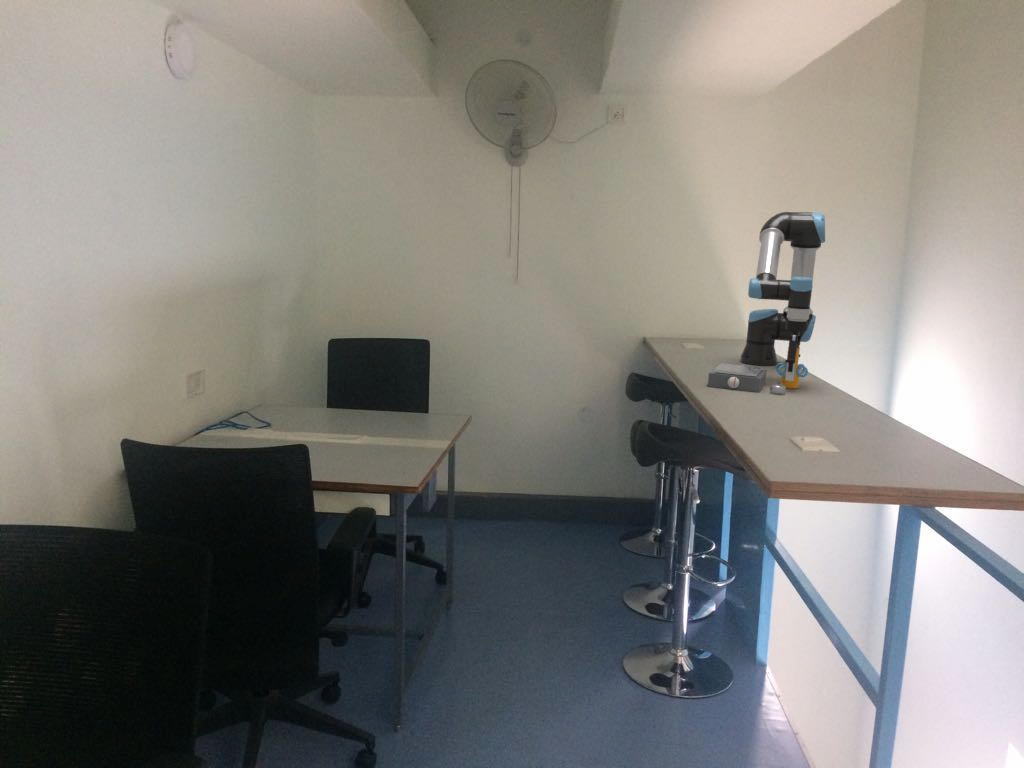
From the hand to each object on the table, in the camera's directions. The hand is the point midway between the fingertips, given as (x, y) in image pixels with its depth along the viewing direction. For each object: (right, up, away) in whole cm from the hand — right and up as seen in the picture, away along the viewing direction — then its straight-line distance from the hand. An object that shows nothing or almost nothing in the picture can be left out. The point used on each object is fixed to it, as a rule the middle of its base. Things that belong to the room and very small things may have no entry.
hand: (790, 377), depth 276 cm
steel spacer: (-9, -6, -10) cm, 15 cm away
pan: (-19, -2, +2) cm, 19 cm away
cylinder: (0, -4, +1) cm, 4 cm away
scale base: (-19, -3, +2) cm, 20 cm away
